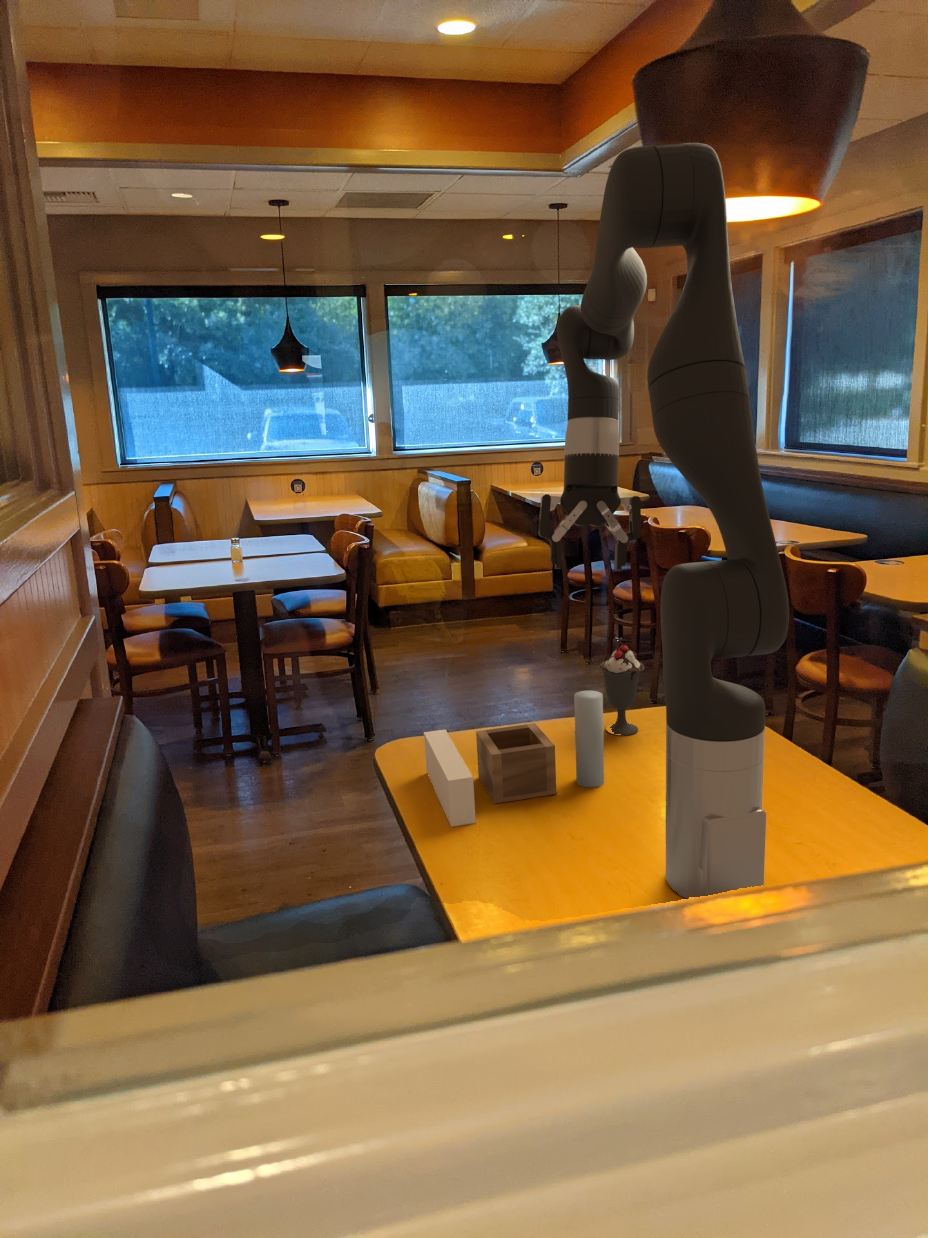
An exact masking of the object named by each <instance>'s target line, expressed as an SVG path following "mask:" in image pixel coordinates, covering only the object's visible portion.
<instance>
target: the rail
mask: <svg viewBox="0 0 928 1238" xmlns="http://www.w3.org/2000/svg"><path fill="white" fill-rule="evenodd" d="M423 741H424V752H425V753H424V755H425V768H426V769H425V770H426V773H427V772H428V775H429V777H430V779H431V781H430V783H431V782H432V784H431V786H432V785H433V786H432V788H433V787H434V788H433V790H434V792H435V795H436V796H437V799H438V800H439V803H440V805H441V808H442V809H443V812H444V814H445V816H446V819H447V820H448V823H449V826H450V827H451V828H453V827H458V826H465V825H471V824H472V825H473V824H476V823H477V821H476V809H475V808H476V803H475V790H474V789H475V787H474V776H473V774H472V772H471V771H470V769H469V768H468V766H467V764H466V763H465V761H464V759H463V757H462V755H461V754H460V752H459V750H458V749H457V747H456V746H455V744H454V742H453V740H452V738H451V737H450V735H449V733H448V732H447V729H437V730H431V731H424V732H423ZM428 775H427V776H428ZM429 777H428V778H429ZM430 779H429V780H430Z"/></svg>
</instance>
